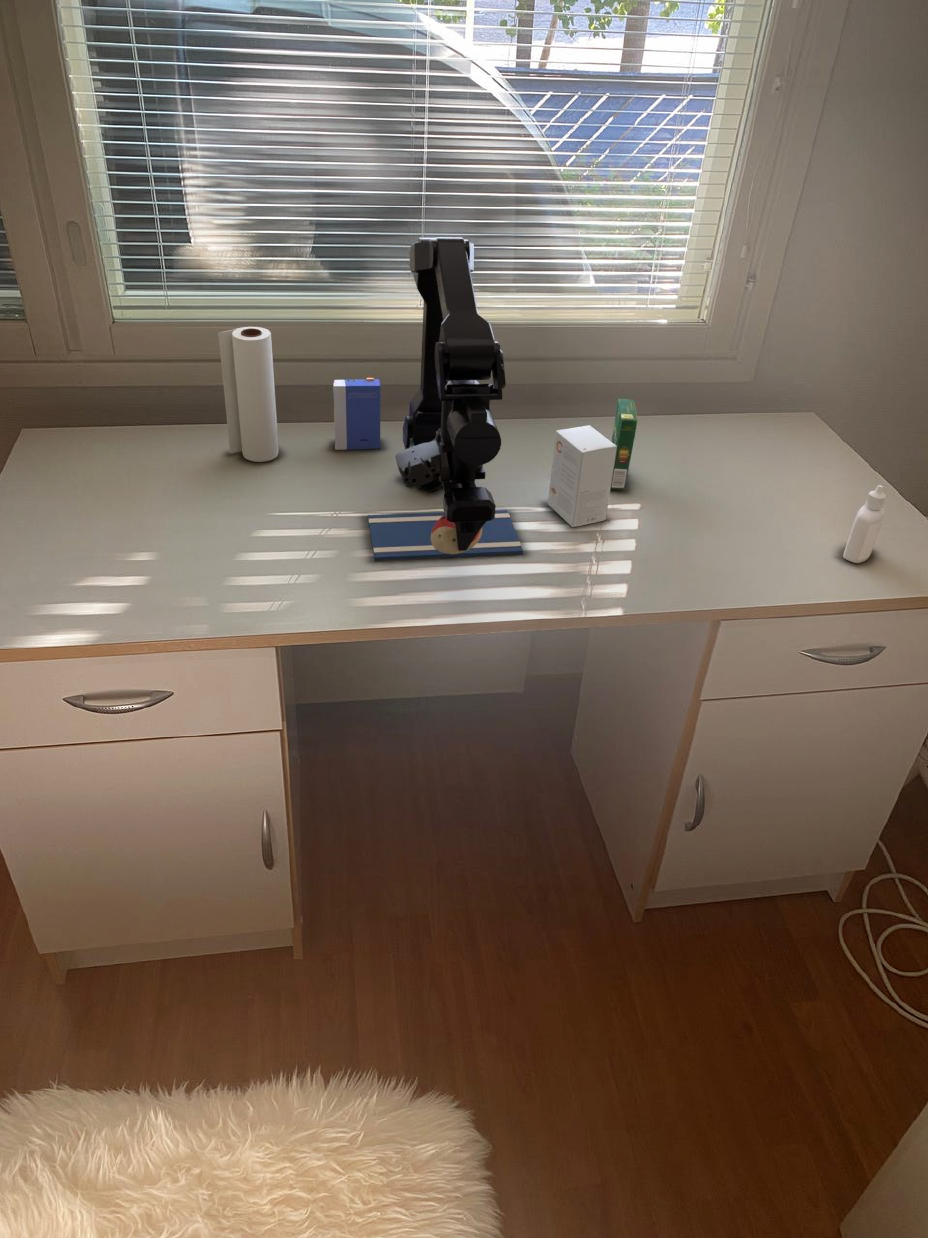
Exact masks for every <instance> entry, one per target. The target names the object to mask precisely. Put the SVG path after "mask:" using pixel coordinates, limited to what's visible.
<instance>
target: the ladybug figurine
mask: <svg viewBox="0 0 928 1238" xmlns="http://www.w3.org/2000/svg"><path fill="white" fill-rule="evenodd" d="M481 535H482V528H481V529H480V531H479V532H478V534H477V535H476V537H475V538H474V540H473V541H472V543H471V544H470V546H469V547H468V549H467V550H469V549H471V548H472V547H473V546H475V545H476V544H477V543H478V541H479V540H480V538H481ZM431 543H432V545H433V547H434V548H435V549H436V550H438V551H439V552H442V553H445V554H458V553H462V552H465V551H459V549H458V544H457V538H456V531H455V524H454V523H453V522H449V521H448V520H447V519H446V517H445V514H444V515H443V516H442V517H441V518H440V519H439V520H438V521H437V522H436V524H435V526H434V528H433V530H432V533H431ZM467 550H466V551H467Z"/></svg>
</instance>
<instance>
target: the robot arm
mask: <svg viewBox="0 0 928 1238" xmlns="http://www.w3.org/2000/svg"><path fill="white" fill-rule="evenodd" d="M409 270H410V273H411V274H413V279H414V282H415V286H416V289H417V292H418V293H419V295H420V296H421V298H422V300H423V303H422V304H423V307H422V332H421V333H422V334H421V359H420V361H421V363H420V384H419V385H420V386H419V389H418V390H417V391H416V392H415V394H414V396H413V397H412V398H411V400H410V401H409V408H408V415H405V417H404V421H403V425H402V442H403V446H404V449H403V450H400V451H398V452H396V454H395V460H396V464H397V468H398V471H399V473H400V476H401V480H402V481H403V483H404V486H405V488H407V489H412V488H420V489H422V490H424V491H426V492H429V493H433V492H435V491H437V490H439V489H441V488H442V489H443V497H442V499H443V500H442V503H443V508H442V510H443V512H444V513H445V517H446V519H447V520H448V521H449V522H453V523H454V524H455V531H456V538H457V544H458V549H459V551H466V550H467V549H468V547H469V546H470V544H471V543H472V541H473V540H474V538H475V537H476V535H477V534H478V532H479V531H480V529H481V528H482V527H483V525H484V524H485V523H486V522H487V521H491V520H493V519H494V518H495V511H496V508H497V505H496V503H495V500H494V497H493V495H492V492H491V491H490V490H488V488H486V486H478V484H477V482H476V480H486V470H485V467H484V465H486V464H488V463H490V462H491V461H493V460H494V459H495V458H496V457H497V456H498V454H499V452H500V451H501V446H502V437H501V434H500V430H499V429H498V426H497V425H496V422H495V419H494V417H493V415H492V412H491V409H490V403H491V401H503V389H505V387H506V385H507V383H506V371H505V363H504V362H505V361H504V352H503V350H501V344H500V343H499V342H498V341H496V340H495V337H494V332H493V328H492V324H491V323H490V322H488V321H487V320H486V319H485V318H484V317H482V316H481V315H480V313H479V311H478V310H479V309H478V305H477V300H476V294H475V289H474V284H473V278H472V272H474V271H475V244H474V243H473V242H470V241H469V239H464V238H463V237H445V236H444V237H441V236H440V237H439V236H437V237H419V238H418V240H417V241H416V242H414V243H412V244H411V245H410V248H409ZM491 378H492V383H480V382H479V381H490V379H491Z"/></svg>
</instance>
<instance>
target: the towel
mask: <svg viewBox="0 0 928 1238" xmlns="http://www.w3.org/2000/svg"><path fill="white" fill-rule="evenodd" d="M444 514H445V513H444V511H443V512H421V513H419V512H418V513H395V514H370V515H369V514H368V515H367V521H368V528H369V534H370V539H371V546H372V552H373V553H372V554H373V557H374V559H373V560H374V561H375V562H376V561H377V562H378V561H398V560H421V559H443V558H462V557H484V556H485V557H487V556H507V555H508V556H509V555H523V554H524V550H523V546H522V544H521V541H520V540H519V537H518V535H517V532H516V529H515V527H514V524H513V522H512V519H511V515H510V513H509V511H508V509H501V510H500V509H499V510H497V509H495V518H494V519H493V520H491V521H487V522H486V523H485V524H484V525H483V527H482V535H481V538H480V540H479V541H478V543H477V544H476V545H475V546H473V547H472V548H471V549H469V550H467V551H465V552H462V553H458V554H445V553H442V552H439V551H438V550H436V549H435V548H434V547H433V545H432V543H431V533H432V530H433V528H434V526H435V524H436V522H437V521H438V520H439V519H440V518H441V517H442V516H443V515H444Z"/></svg>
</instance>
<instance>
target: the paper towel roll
mask: <svg viewBox="0 0 928 1238" xmlns="http://www.w3.org/2000/svg"><path fill="white" fill-rule="evenodd" d="M217 334H218V344H219V353H220V363H221V364H220V366H221V374H222V376H221V377H222V384H223V392H224V393H223V395H224V405H225V414H226V415H225V416H226V425H227V426H226V427H227V434H228V435H227V436H228V437H227V438H228V445H229V454H234V453H238V452H241V453H242V456H243V457H244V459H246V460H248V461H251V462H257V463H263V462H264V463H265V462H270V461H272V460H275V459H276V458H278V455H279V453H280V451H279V450H280V449H279V434H278V420H277V418H278V417H277V406H276V404H277V403H276V390H275V389H276V388H275V375H274V374H275V372H274V360H273V359H274V357H273V345H272V344H273V343H272V332H271V331H270V330H269V329H267V328H265V327H260V326H244V327H236V328H232V329H229V330H225V331H218V333H217Z"/></svg>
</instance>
